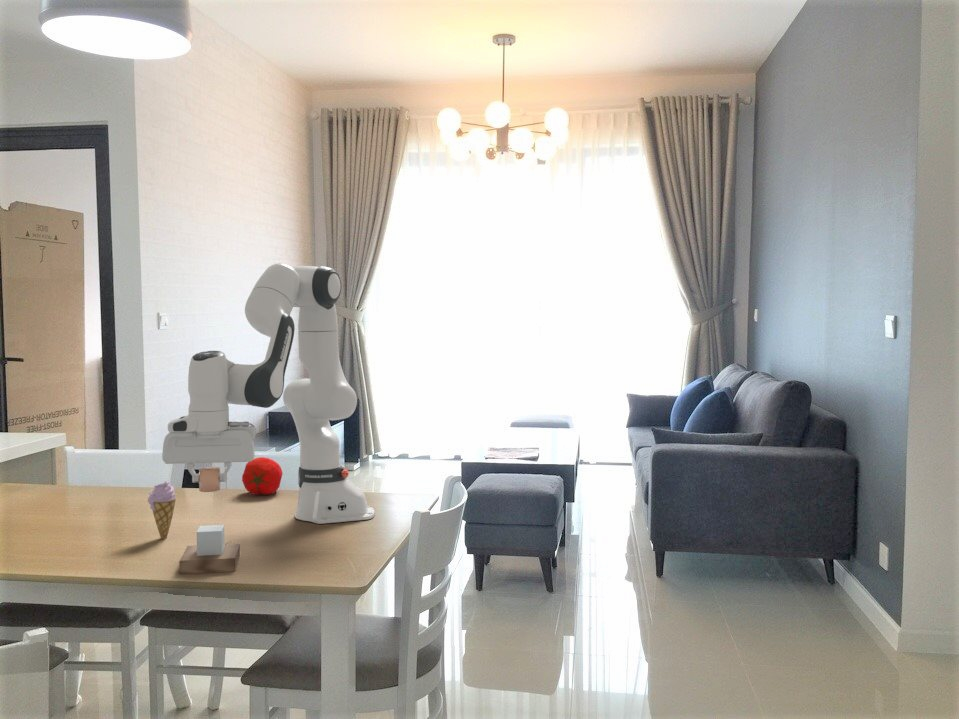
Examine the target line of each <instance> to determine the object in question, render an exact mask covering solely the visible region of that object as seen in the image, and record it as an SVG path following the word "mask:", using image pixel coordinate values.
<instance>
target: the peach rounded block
mask: <svg viewBox="0 0 959 719" xmlns="http://www.w3.org/2000/svg"><path fill="white" fill-rule="evenodd" d="M220 473H221V467H219V466H204V467H199V468H198V474H199V482H198V491H199V492H201V493H213V492H218V491H220V490H221V482H220V481H219V479H220V477H219V474H220Z"/></svg>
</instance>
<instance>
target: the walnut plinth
mask: <svg viewBox="0 0 959 719" xmlns="http://www.w3.org/2000/svg"><path fill="white" fill-rule="evenodd" d="M240 557H241V543H225V548H224V551H223V553H222V555H203V556H197V544H196V545H187V546H186V548H185V550H184V552H183V553H182V555H181V557H180V560H179V574H180V575H184V574H186V575H187V574H201V573H202V574H203V573H205V574H207V573H219V572H220V573H225V572H227V573H229V572H236V571H237V567H238V565H239V564H238V563H239V560H240Z"/></svg>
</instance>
